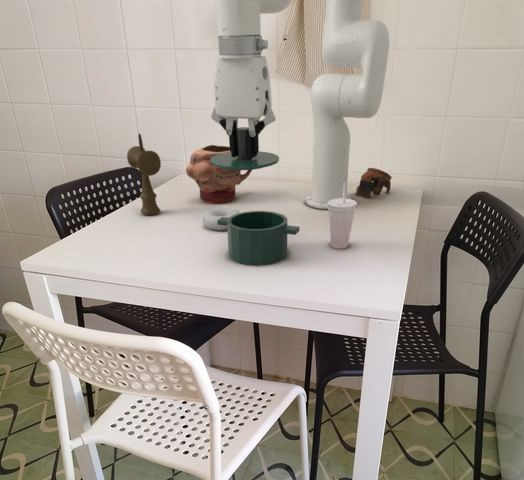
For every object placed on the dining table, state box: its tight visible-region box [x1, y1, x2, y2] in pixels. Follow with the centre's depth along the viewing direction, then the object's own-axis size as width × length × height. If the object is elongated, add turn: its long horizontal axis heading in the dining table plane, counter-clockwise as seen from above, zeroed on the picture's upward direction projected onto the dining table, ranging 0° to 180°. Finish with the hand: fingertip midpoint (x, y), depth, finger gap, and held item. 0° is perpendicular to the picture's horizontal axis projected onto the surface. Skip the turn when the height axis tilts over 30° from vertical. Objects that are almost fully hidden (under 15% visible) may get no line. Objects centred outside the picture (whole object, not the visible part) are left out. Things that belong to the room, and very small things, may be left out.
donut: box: [201, 207, 241, 231], centre depth 125 cm, size 10×4×10 cm
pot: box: [217, 210, 300, 266], centre depth 108 cm, size 13×18×8 cm
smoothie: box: [327, 182, 358, 250], centre depth 109 cm, size 6×6×14 cm
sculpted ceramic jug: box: [185, 144, 253, 204], centre depth 142 cm, size 20×12×14 cm, turn 119°
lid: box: [210, 126, 280, 171], centre depth 98 cm, size 14×14×7 cm
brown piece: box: [355, 167, 392, 199], centre depth 144 cm, size 12×10×8 cm
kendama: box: [126, 133, 162, 216], centre depth 130 cm, size 6×10×20 cm, turn 32°
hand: (244, 155), depth 99 cm, fingers closed on lid, 2 cm apart
